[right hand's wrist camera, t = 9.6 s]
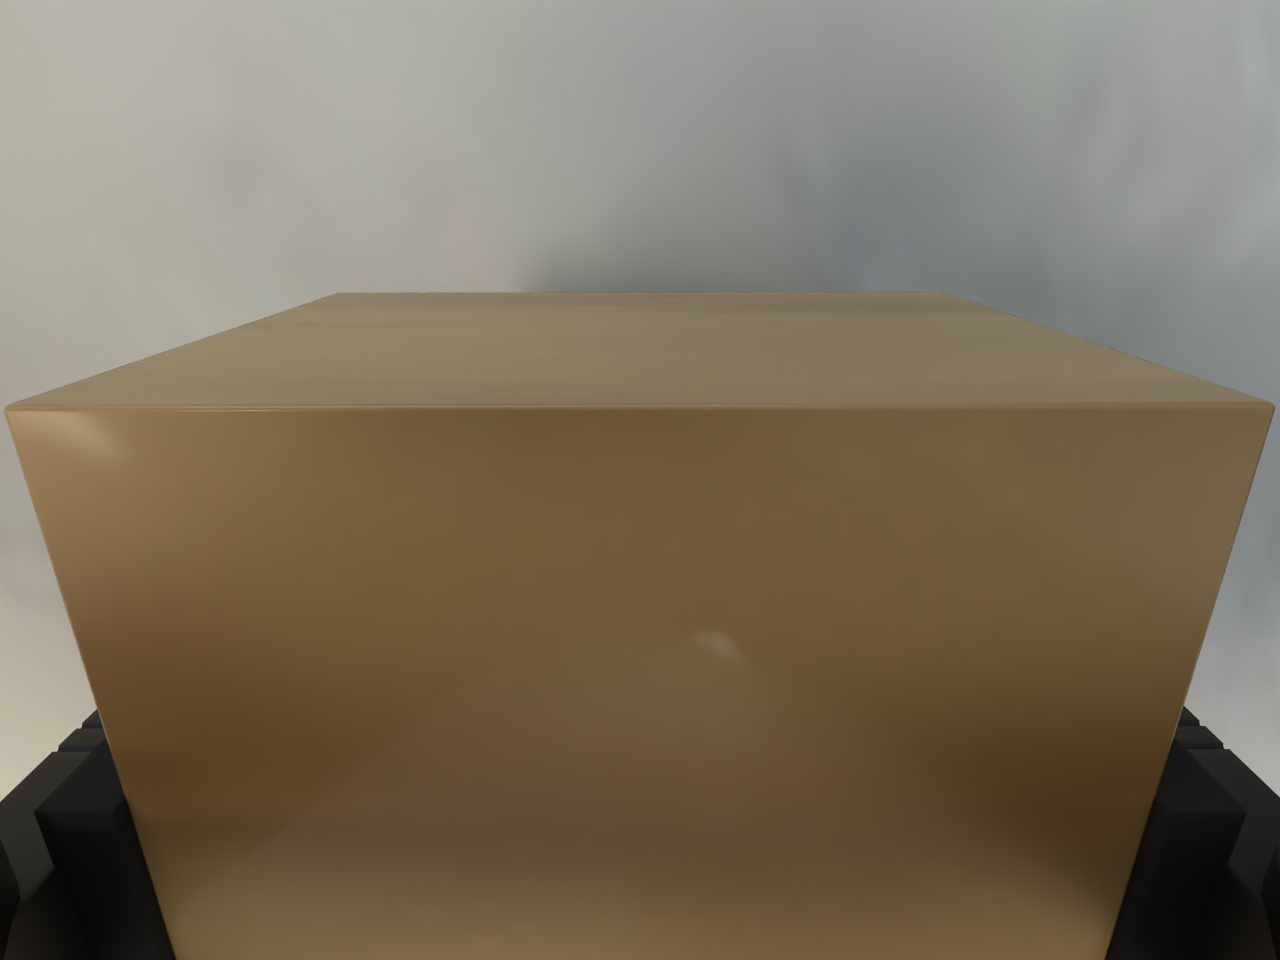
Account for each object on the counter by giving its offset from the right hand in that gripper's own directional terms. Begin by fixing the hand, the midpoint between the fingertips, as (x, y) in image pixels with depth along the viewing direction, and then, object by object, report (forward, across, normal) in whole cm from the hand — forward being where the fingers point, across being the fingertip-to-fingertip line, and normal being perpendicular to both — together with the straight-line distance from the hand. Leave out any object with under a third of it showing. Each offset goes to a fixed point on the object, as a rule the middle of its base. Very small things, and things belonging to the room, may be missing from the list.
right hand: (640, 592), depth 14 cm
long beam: (+1, 0, -36) cm, 36 cm away
